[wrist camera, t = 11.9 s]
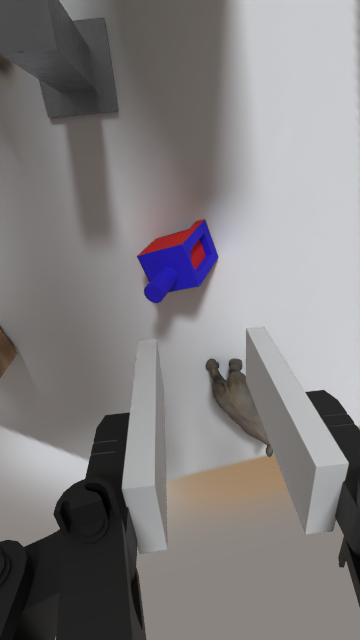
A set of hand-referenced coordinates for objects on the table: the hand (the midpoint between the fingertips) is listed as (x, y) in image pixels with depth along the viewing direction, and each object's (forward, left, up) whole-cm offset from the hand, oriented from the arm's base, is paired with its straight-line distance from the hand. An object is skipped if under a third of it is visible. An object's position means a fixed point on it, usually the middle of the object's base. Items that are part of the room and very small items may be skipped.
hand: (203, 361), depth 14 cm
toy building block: (0, 0, -17) cm, 17 cm away
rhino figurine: (+17, +6, -17) cm, 25 cm away
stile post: (-13, -6, -17) cm, 22 cm away
